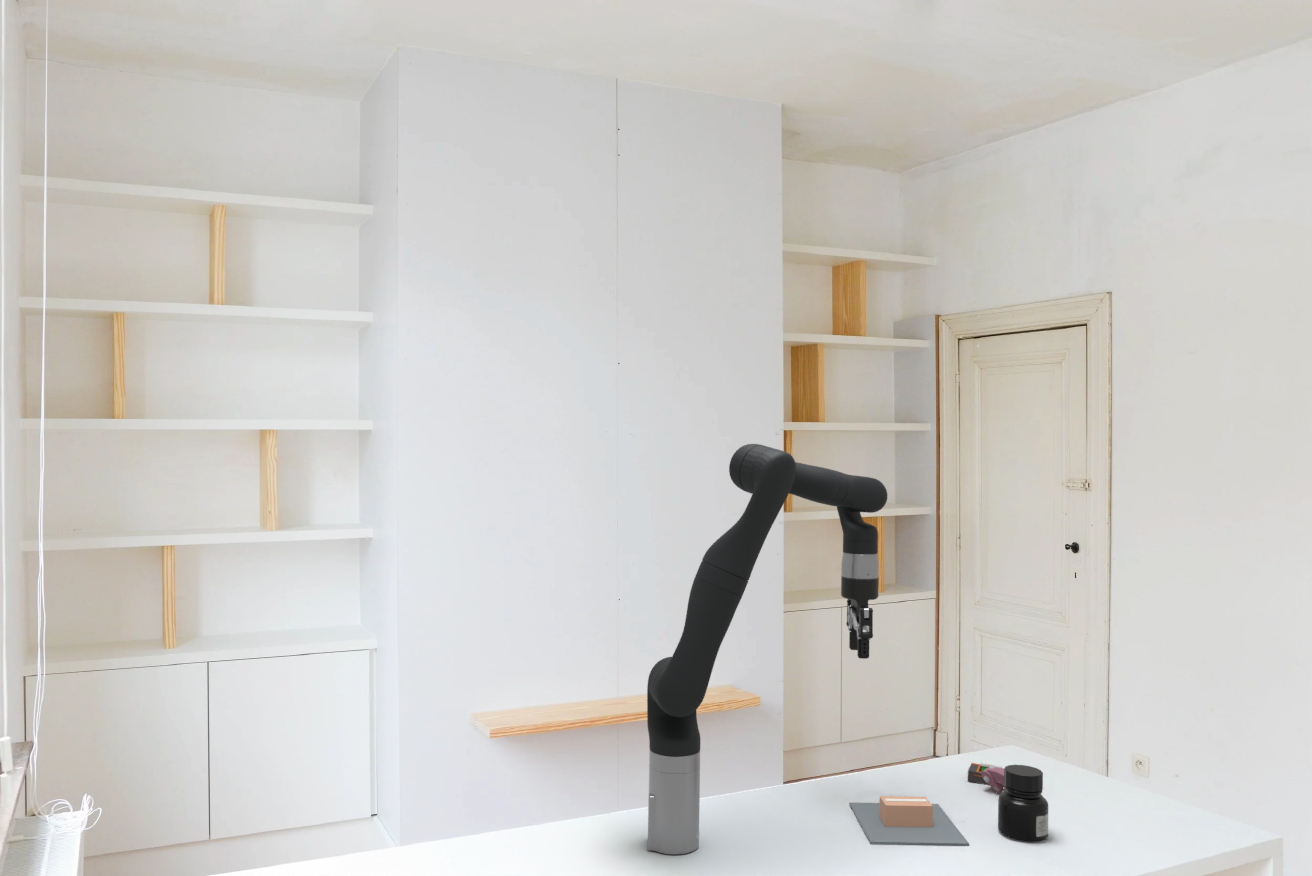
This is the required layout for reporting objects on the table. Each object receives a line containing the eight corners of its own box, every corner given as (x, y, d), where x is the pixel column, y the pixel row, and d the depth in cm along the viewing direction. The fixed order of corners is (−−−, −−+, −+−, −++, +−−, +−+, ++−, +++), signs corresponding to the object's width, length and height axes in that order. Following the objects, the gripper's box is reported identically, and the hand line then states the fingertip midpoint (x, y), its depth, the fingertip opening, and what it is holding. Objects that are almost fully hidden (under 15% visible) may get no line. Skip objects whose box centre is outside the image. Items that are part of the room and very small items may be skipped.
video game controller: (985, 795, 208) (974, 768, 207) (998, 783, 210) (988, 756, 209) (1021, 811, 199) (1011, 782, 198) (1036, 798, 201) (1025, 769, 200)
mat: (870, 844, 177) (870, 841, 177) (849, 804, 197) (849, 802, 197) (969, 845, 177) (969, 843, 177) (937, 805, 197) (937, 803, 197)
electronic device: (1040, 782, 206) (966, 768, 212) (1039, 796, 206) (965, 782, 212) (1041, 773, 212) (970, 760, 218) (1041, 786, 212) (969, 773, 218)
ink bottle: (1052, 846, 177) (1053, 780, 178) (1002, 842, 179) (1002, 776, 179) (1042, 826, 187) (1043, 764, 187) (994, 822, 189) (995, 760, 189)
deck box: (932, 827, 185) (933, 804, 185) (885, 826, 185) (885, 804, 185) (925, 817, 190) (925, 795, 190) (879, 816, 190) (879, 795, 190)
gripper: (886, 579, 193) (885, 661, 193) (870, 570, 207) (869, 647, 207) (848, 579, 193) (847, 661, 193) (835, 570, 207) (834, 646, 207)
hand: (858, 653), depth 200 cm, fingers open, 8 cm apart
